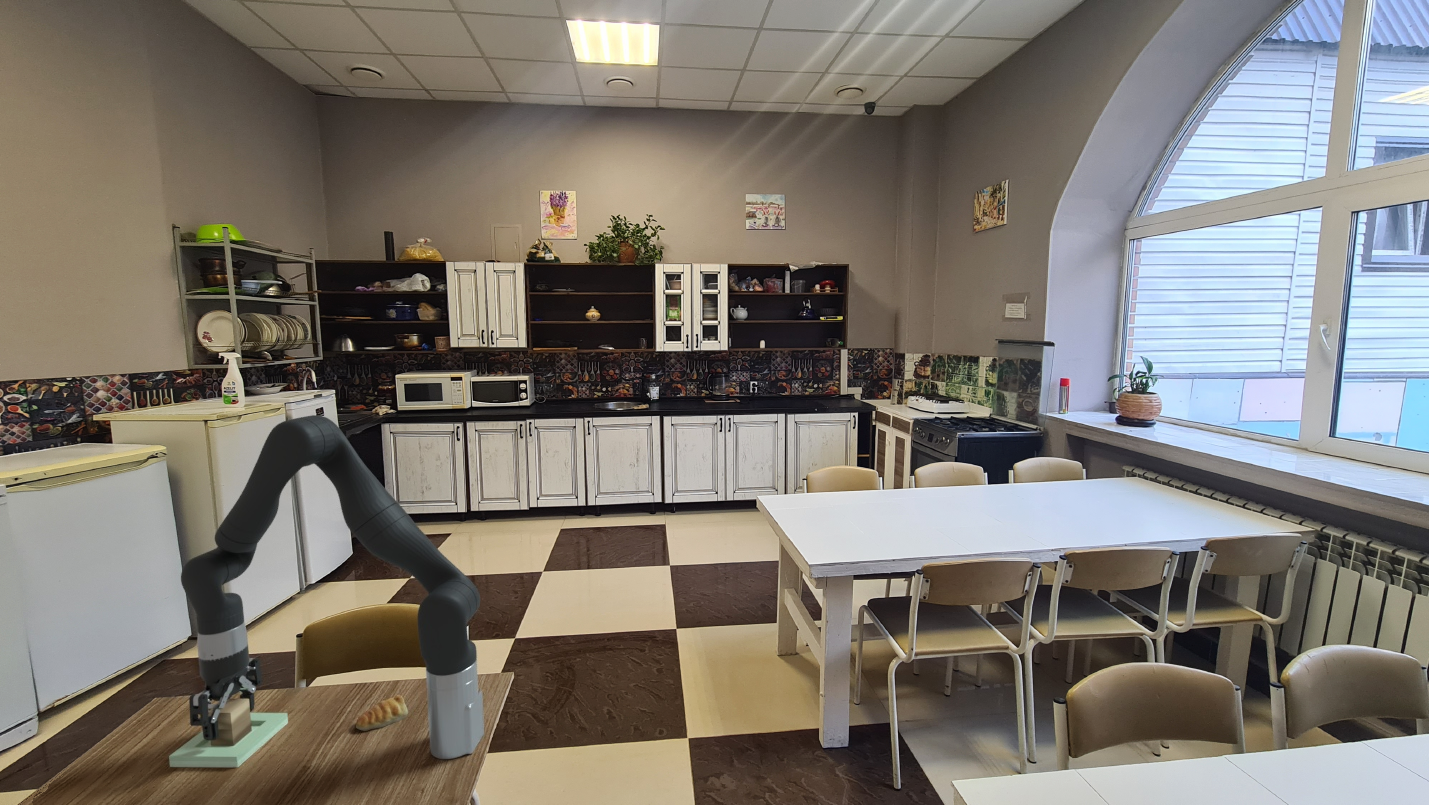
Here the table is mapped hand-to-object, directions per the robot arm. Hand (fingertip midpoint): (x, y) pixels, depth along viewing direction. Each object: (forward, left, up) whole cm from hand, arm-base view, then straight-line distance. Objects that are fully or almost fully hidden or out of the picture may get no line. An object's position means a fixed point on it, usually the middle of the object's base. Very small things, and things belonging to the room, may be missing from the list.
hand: (230, 724), depth 117 cm
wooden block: (0, 0, -3) cm, 3 cm away
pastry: (-26, -8, -5) cm, 28 cm away
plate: (0, 0, -4) cm, 4 cm away
